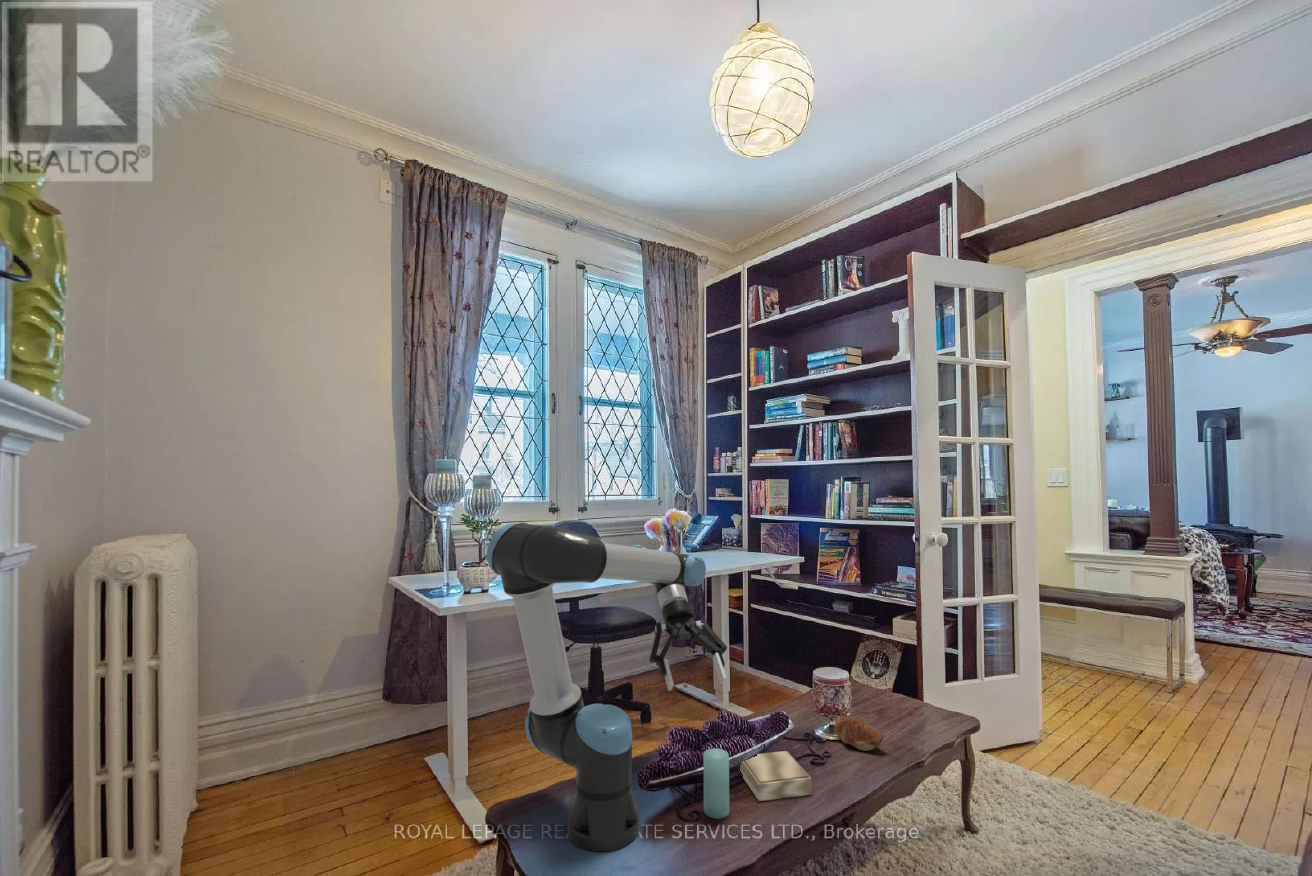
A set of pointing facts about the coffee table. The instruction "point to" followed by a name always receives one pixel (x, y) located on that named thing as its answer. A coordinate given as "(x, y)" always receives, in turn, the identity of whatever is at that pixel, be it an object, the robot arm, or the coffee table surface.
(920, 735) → the coffee table surface
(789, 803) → the coffee table surface
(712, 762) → the teal pillar
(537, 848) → the coffee table surface
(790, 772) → the block
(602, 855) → the coffee table surface
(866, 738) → the bread roll
